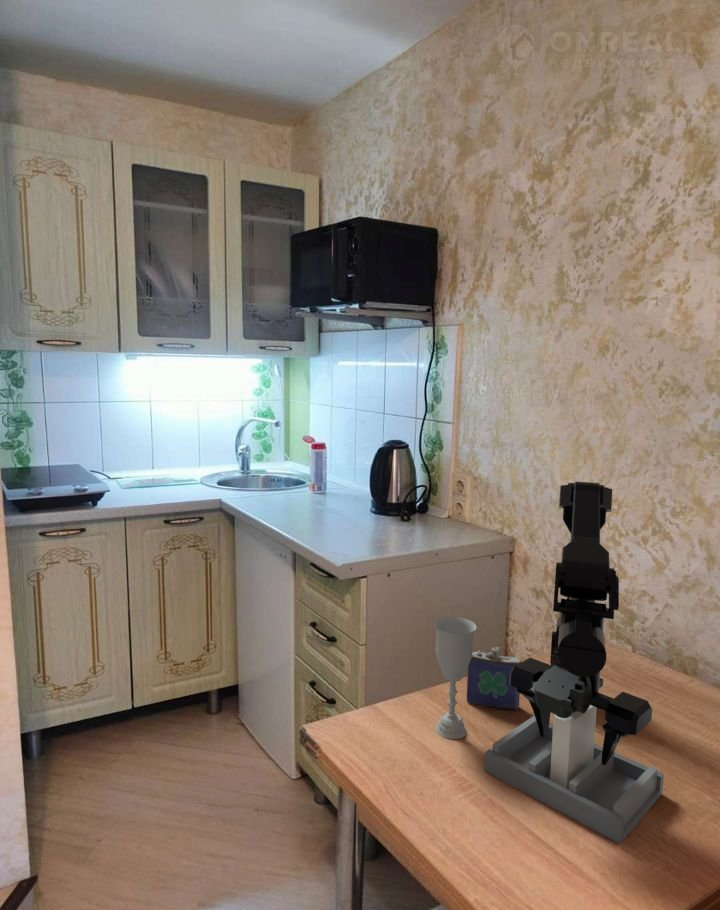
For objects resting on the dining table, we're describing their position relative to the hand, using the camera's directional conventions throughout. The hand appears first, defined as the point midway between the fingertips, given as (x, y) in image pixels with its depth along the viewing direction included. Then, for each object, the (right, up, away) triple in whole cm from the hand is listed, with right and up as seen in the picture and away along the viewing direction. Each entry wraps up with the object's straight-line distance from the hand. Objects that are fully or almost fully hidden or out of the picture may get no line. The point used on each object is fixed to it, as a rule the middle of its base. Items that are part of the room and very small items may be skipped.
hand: (573, 749), depth 89 cm
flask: (-7, -3, +22) cm, 23 cm away
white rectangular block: (0, -4, 0) cm, 4 cm away
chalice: (-16, -3, +13) cm, 21 cm away
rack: (0, -5, +1) cm, 5 cm away
